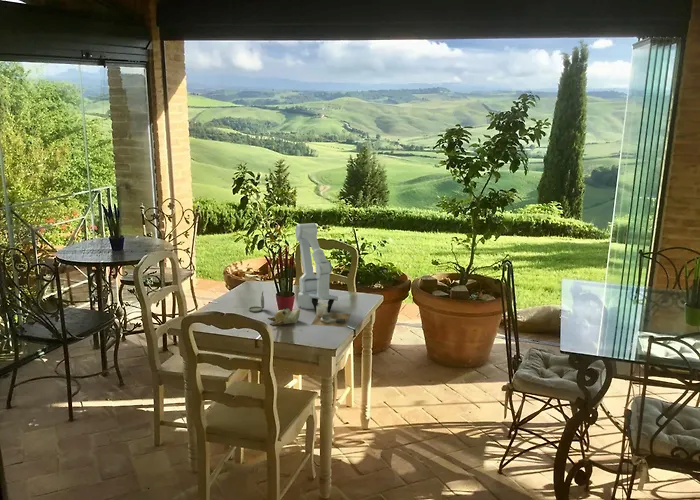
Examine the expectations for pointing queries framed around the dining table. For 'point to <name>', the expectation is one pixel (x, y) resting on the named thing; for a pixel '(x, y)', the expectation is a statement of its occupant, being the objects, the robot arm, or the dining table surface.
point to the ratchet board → (332, 319)
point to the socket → (321, 309)
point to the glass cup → (256, 308)
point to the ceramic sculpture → (285, 317)
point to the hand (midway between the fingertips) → (322, 313)
